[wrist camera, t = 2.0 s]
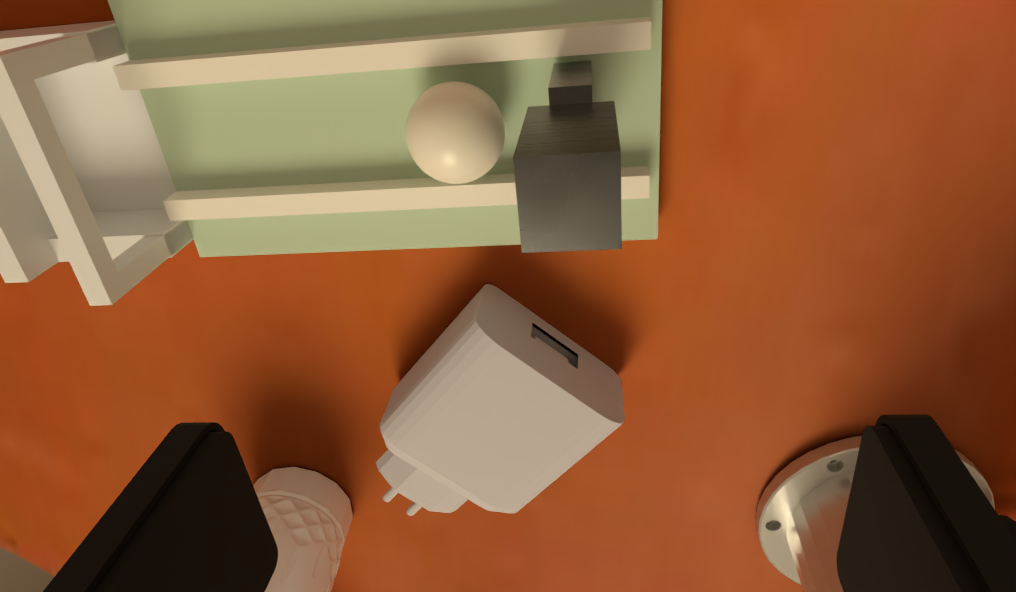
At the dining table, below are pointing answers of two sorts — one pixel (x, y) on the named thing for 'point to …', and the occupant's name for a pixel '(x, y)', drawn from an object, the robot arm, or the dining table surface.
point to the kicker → (569, 168)
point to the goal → (79, 164)
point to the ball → (455, 132)
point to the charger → (494, 411)
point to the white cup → (304, 527)
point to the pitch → (370, 112)
